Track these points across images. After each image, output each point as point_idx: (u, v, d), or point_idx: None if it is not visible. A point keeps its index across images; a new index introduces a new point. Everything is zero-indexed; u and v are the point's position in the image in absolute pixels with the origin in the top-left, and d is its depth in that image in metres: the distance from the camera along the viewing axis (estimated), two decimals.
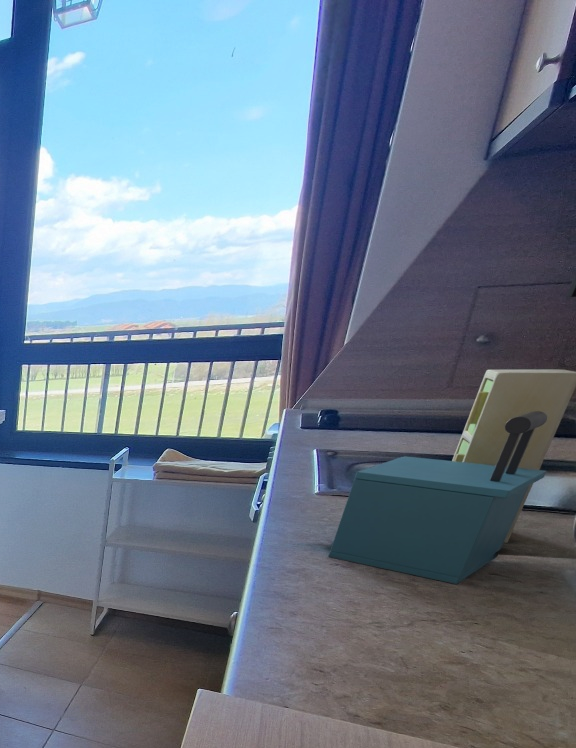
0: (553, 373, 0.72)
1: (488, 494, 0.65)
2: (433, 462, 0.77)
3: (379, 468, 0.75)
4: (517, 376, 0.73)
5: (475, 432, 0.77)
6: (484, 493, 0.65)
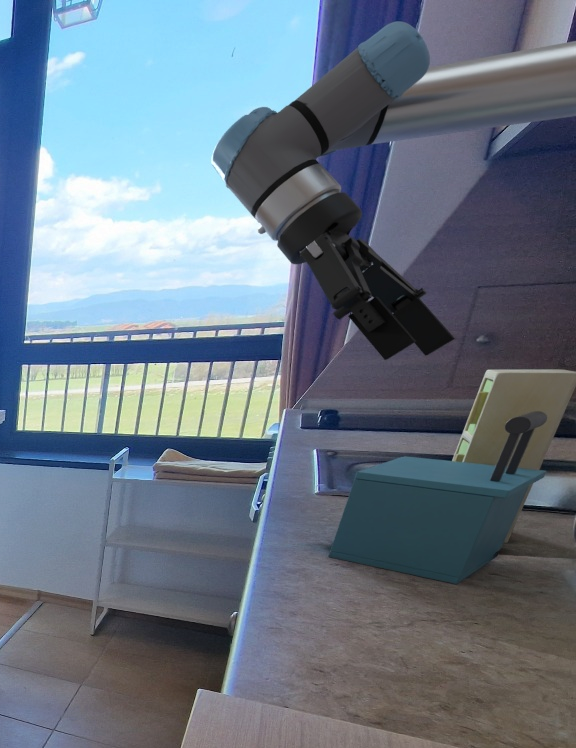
0: (553, 373, 0.72)
1: (488, 494, 0.65)
2: (433, 462, 0.77)
3: (379, 468, 0.75)
4: (517, 376, 0.73)
5: (475, 432, 0.77)
6: (484, 493, 0.65)
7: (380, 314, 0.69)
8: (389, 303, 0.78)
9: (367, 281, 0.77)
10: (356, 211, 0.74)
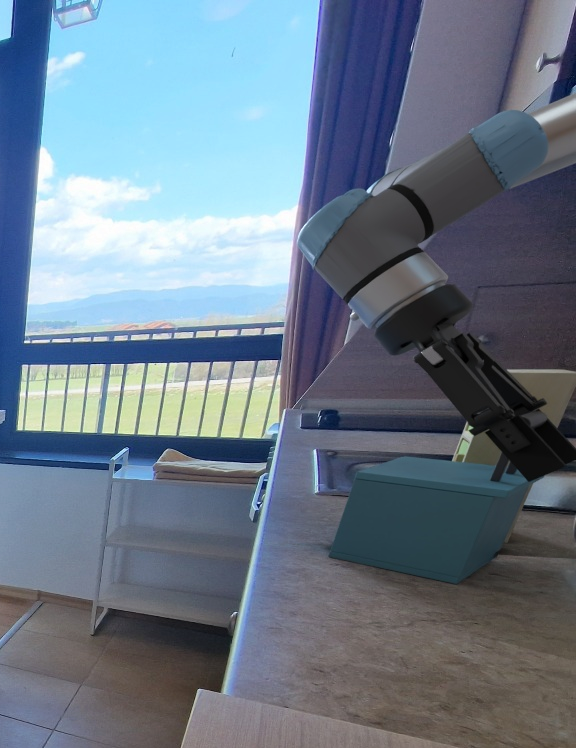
0: (553, 373, 0.72)
1: (488, 494, 0.65)
2: (433, 462, 0.77)
3: (379, 468, 0.75)
4: (517, 376, 0.73)
5: None
6: (484, 493, 0.65)
7: (524, 434, 0.64)
8: None
9: None
10: (468, 305, 0.68)
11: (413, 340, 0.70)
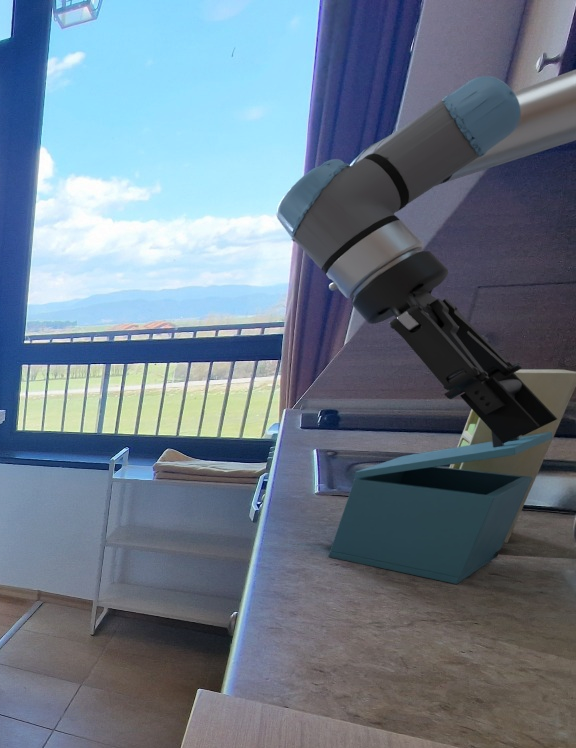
0: (553, 373, 0.72)
1: (495, 456, 0.64)
2: (433, 452, 0.77)
3: (378, 465, 0.75)
4: (517, 376, 0.73)
5: (475, 432, 0.77)
6: (491, 456, 0.64)
7: (498, 396, 0.65)
8: None
9: None
10: (443, 271, 0.69)
11: (390, 307, 0.71)
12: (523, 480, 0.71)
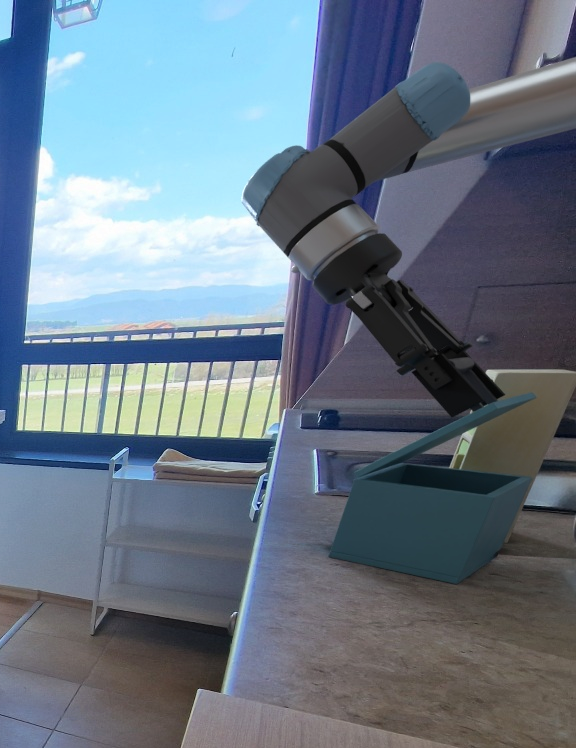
0: (553, 373, 0.72)
1: (480, 415, 0.64)
2: None
3: None
4: (517, 376, 0.73)
5: (475, 432, 0.77)
6: (475, 417, 0.65)
7: (446, 372, 0.68)
8: None
9: None
10: (396, 253, 0.72)
11: (346, 287, 0.74)
12: (523, 480, 0.71)
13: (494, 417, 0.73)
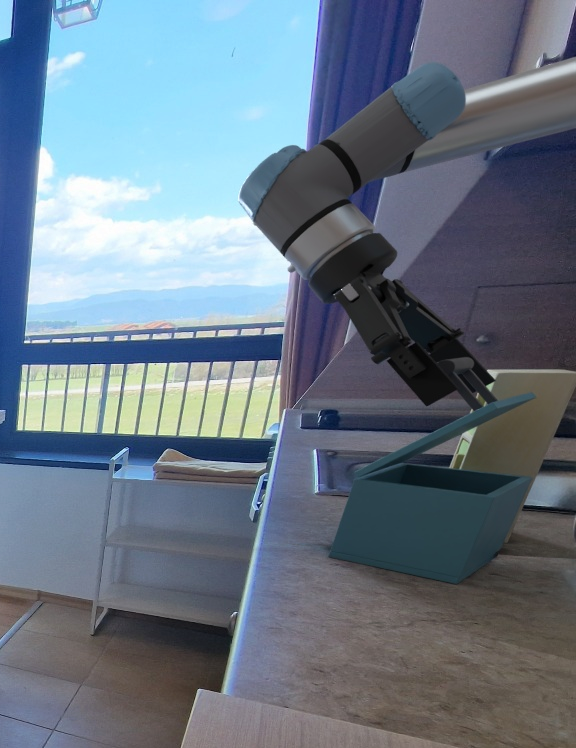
0: (553, 373, 0.72)
1: (479, 415, 0.64)
2: None
3: None
4: (517, 376, 0.73)
5: (475, 432, 0.77)
6: (475, 417, 0.65)
7: (421, 360, 0.67)
8: (425, 343, 0.76)
9: (402, 321, 0.76)
10: (391, 252, 0.72)
11: (342, 287, 0.74)
12: (523, 480, 0.71)
13: (494, 417, 0.73)
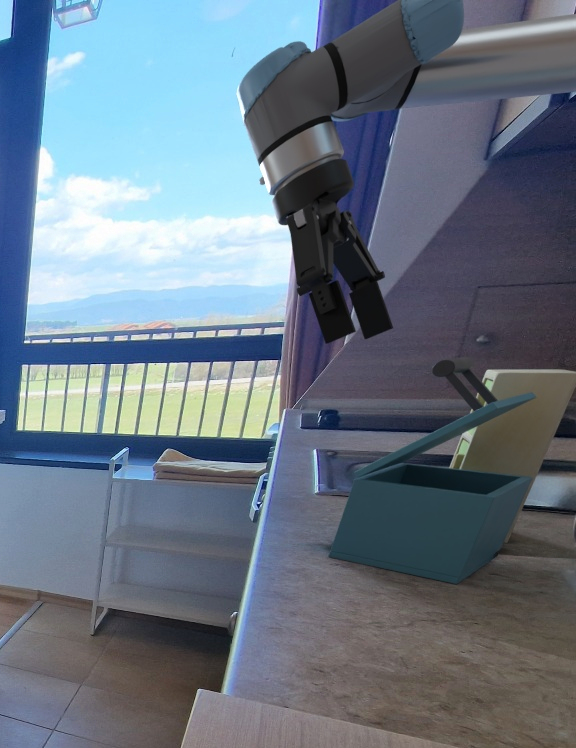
0: (553, 373, 0.72)
1: (479, 415, 0.64)
2: None
3: None
4: (517, 376, 0.73)
5: (475, 432, 0.77)
6: (475, 417, 0.65)
7: (335, 298, 0.74)
8: (351, 281, 0.83)
9: (338, 256, 0.81)
10: (348, 183, 0.76)
11: (297, 210, 0.78)
12: (523, 480, 0.71)
13: (494, 417, 0.73)
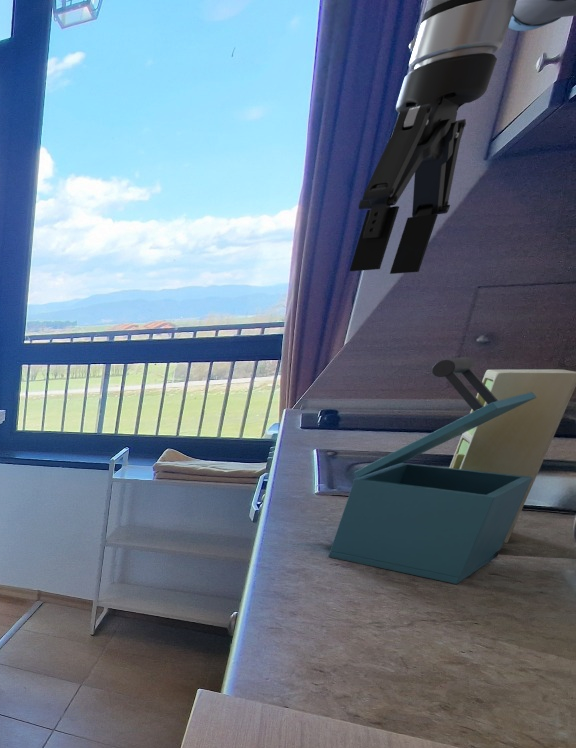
0: (553, 373, 0.72)
1: (479, 415, 0.64)
2: None
3: None
4: (517, 376, 0.73)
5: (475, 432, 0.77)
6: (475, 417, 0.65)
7: (384, 226, 0.74)
8: (417, 204, 0.80)
9: (423, 172, 0.77)
10: (479, 90, 0.70)
11: (417, 103, 0.72)
12: (523, 480, 0.71)
13: (494, 417, 0.73)
